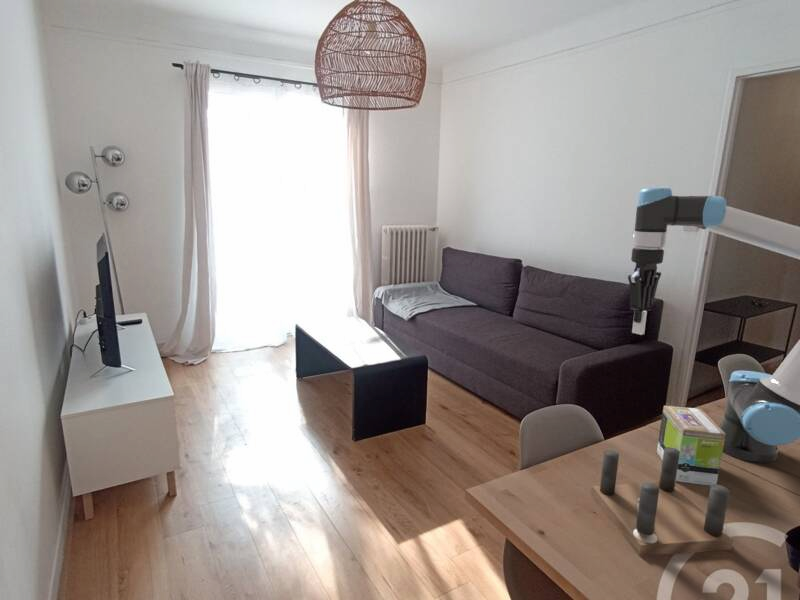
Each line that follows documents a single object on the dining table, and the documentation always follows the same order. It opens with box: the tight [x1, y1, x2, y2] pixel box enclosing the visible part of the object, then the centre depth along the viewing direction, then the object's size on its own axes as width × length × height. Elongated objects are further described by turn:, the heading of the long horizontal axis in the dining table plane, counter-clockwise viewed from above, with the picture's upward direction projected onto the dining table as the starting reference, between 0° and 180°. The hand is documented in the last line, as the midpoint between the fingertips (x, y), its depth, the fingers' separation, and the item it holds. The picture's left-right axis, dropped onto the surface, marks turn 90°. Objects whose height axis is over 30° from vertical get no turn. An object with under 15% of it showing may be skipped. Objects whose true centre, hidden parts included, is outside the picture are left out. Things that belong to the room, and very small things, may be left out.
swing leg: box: [636, 481, 659, 537], centre depth 100 cm, size 13×3×11 cm, turn 154°
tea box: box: [656, 405, 725, 487], centre depth 125 cm, size 15×10×15 cm, turn 168°
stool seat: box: [590, 447, 734, 557], centre depth 104 cm, size 20×20×12 cm
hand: (638, 333), depth 130 cm, fingers closed
